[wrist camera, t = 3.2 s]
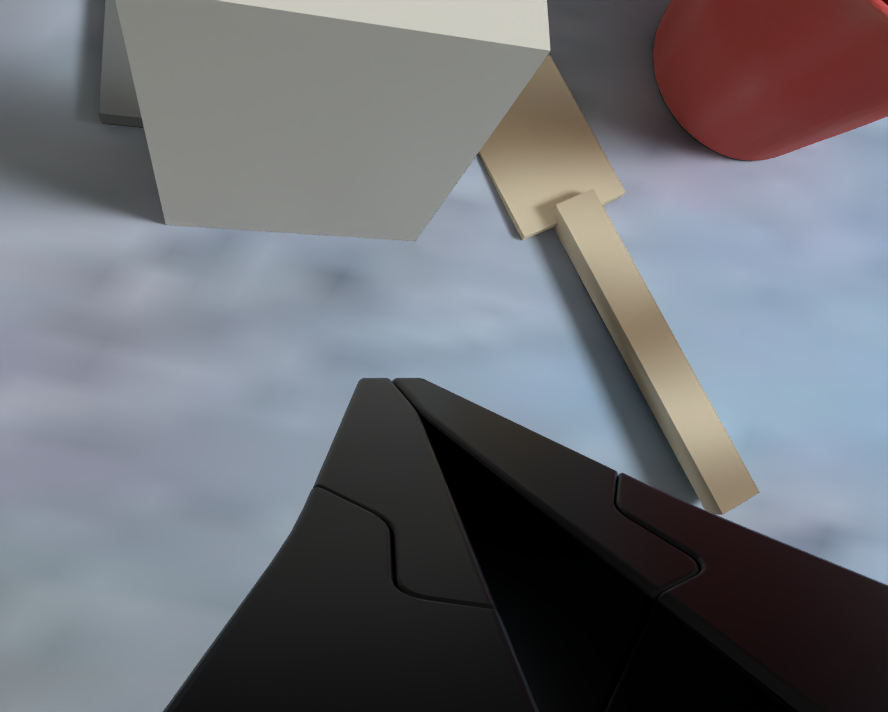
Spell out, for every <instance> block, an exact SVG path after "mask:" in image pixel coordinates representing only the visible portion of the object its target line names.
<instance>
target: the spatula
mask: <svg viewBox="0 0 888 712" xmlns="http://www.w3.org/2000/svg"><path fill="white" fill-rule="evenodd" d="M478 154H479V156H480V158H481V160H482V162H483V164H484V166H485V168H486V170H487V172H488V174H489V176H490V178H491V180H492V182H493V184H494V186H495V188H496V190H497V192H498V194H499V196H500V197H501V199H502V201H503V203H504V205H505V207H506V209H507V211H508V213H509V215H510V217H511V219H512V221H513V223H514V225H515V227H516V229H517V231H518V233H519V235H520V237H521V239H522V240H524V239H527V238H529V237H532V236H534V235H536V234H539V233H541V232H544V231H546V230H548V229H551V228H553V227H554V229H555V231H556V233H557V235H558V237H559V239H560V241H561V243H562V245H563V247H564V248H565V250H566V252H567V254H568V256H569V258H570V260H571V261H572V263H573V265H574V267H575V269H576V271H577V273H578V274H579V276H580V278H581V280H582V282H583V284H584V286H585V288H586V289H587V291H588V293H589V295H590V297H591V299H592V301H593V302H594V304H595V306H596V308H597V310H598V312H599V314H600V315H601V317H602V319H603V321H604V323H605V325H606V327H607V328H608V330H609V332H610V334H611V336H612V338H613V340H614V341H615V343H616V345H617V347H618V349H619V351H620V353H621V355H622V356H623V358H624V360H625V362H626V364H627V366H628V368H629V369H630V371H631V373H632V375H633V377H634V379H635V381H636V382H637V384H638V386H639V388H640V390H641V392H642V394H643V395H644V397H645V399H646V401H647V403H648V405H649V407H650V408H651V410H652V412H653V414H654V416H655V418H656V420H657V422H658V423H659V425H660V427H661V429H662V431H663V433H664V435H665V436H666V438H667V440H668V442H669V444H670V446H671V448H672V449H673V451H674V453H675V455H676V457H677V459H678V461H679V462H680V464H681V466H682V468H683V470H684V472H685V474H686V475H687V477H688V479H689V481H690V483H691V485H692V487H693V489H694V490H695V492H696V494H697V496H698V498H699V500H700V502H701V503H702V505H703V507H704V509H705V511H708V512H710V513H712V514H725V513H726V512H728V511H730V510H731V509H733V508H735V507H736V506H738V505H740V504H741V503H743V502H745V501H746V500H748V499H750V498H751V497H753V496H755V495H756V494H758V493H760V492H759V490H758V488H757V487H756V485H755V483H754V481H753V479H752V477H751V476H750V474H749V472H748V470H747V468H746V467H745V465H744V463H743V461H742V459H741V457H740V456H739V454H738V452H737V450H736V448H735V446H734V445H733V443H732V441H731V439H730V437H729V435H728V434H727V432H726V430H725V428H724V426H723V424H722V423H721V421H720V419H719V417H718V415H717V414H716V412H715V410H714V408H713V406H712V404H711V403H710V401H709V399H708V397H707V395H706V393H705V392H704V390H703V388H702V386H701V384H700V382H699V381H698V379H697V377H696V375H695V373H694V372H693V370H692V368H691V366H690V364H689V362H688V361H687V359H686V357H685V355H684V353H683V351H682V350H681V348H680V346H679V344H678V342H677V340H676V339H675V337H674V335H673V333H672V331H671V330H670V328H669V326H668V324H667V322H666V320H665V319H664V317H663V315H662V313H661V311H660V309H659V308H658V306H657V304H656V302H655V300H654V298H653V297H652V295H651V293H650V291H649V289H648V287H647V286H646V284H645V282H644V280H643V278H642V277H641V275H640V273H639V271H638V269H637V267H636V266H635V264H634V262H633V260H632V258H631V256H630V255H629V253H628V251H627V249H626V247H625V245H624V244H623V242H622V240H621V238H620V236H619V235H618V233H617V231H616V229H615V227H614V225H613V224H612V222H611V220H610V218H609V216H608V214H607V213H606V211H605V209H604V207H603V205H606V204H608V203H610V202H612V201H615V200H617V199H619V198H621V197H622V196H623V195H624V194H625V193H626V192H625V190H624V188H623V186H622V184H621V183H620V181H619V179H618V177H617V175H616V173H615V172H614V170H613V168H612V166H611V164H610V163H609V161H608V159H607V157H606V155H605V154H604V152H603V150H602V148H601V146H600V145H599V143H598V141H597V139H596V137H595V135H594V134H593V132H592V130H591V128H590V126H589V125H588V123H587V121H586V119H585V117H584V116H583V114H582V112H581V110H580V108H579V107H578V105H577V103H576V101H575V99H574V97H573V96H572V94H571V92H570V90H569V88H568V87H567V85H566V83H565V81H564V79H563V78H562V76H561V74H560V72H559V70H558V69H557V67H556V65H555V63H554V61H553V59H552V58H551V56H550V55H549V56H546V58H545V59H544V61H543V62H542V63H541V65H540V66H539V68H538V69H537V70H536V72H535V73H534V75H533V76H532V78H531V79H530V80H529V82H528V83H527V85H526V86H525V87H524V89H523V90H522V92H521V93H520V95H519V96H518V97H517V99H516V100H515V102H514V103H513V104H512V106H511V107H510V109H509V110H508V112H507V113H506V114H505V116H504V117H503V119H502V120H501V121H500V123H499V124H498V126H497V127H496V128H495V130H494V131H493V133H492V134H491V136H490V137H489V138H488V140H487V141H486V143H485V144H484V145H483V147H482V148H481V150H480V151H479V153H478Z"/></svg>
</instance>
